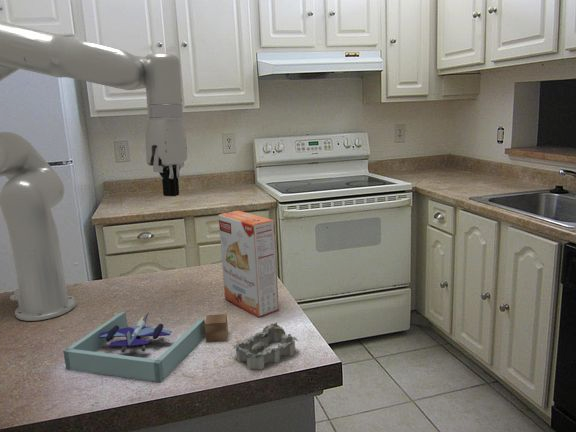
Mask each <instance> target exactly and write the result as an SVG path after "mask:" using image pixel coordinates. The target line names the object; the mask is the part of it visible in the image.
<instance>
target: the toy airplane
mask: <svg viewBox="0 0 576 432" xmlns="http://www.w3.org/2000/svg"><path fill="white" fill-rule="evenodd" d="M149 312H150V311H148V312H147V314H146V315H144V316H141V317H140V319H139V320H138V321H137V323H136V325H132V326H128V327H127V328H122V329H119V326H117V325H115V326H114V327H113V328H112V329H111V330H110V331H108V332H103V333H101V334H100V335H99V336H98V337H99V338H106V341H109V342H110V341H111V342H110V343H109V345H108V347H114V348H115V347H117V348H118V347H119V348H121V352H122V353H124V352H126V348H131V347H136V346H141V350H142V351H143V352H145V350H146V345H148V344H149V343H150V340H149V339H142V338H146V337H152V339H153V340H157V339H158V338H159V337H164V336H165V337H166V336H167V337H168V336H171V334H172V330H171V329H165V328H164V324H163V323H159V324H157V326H156V327H151V326H147V318H148V315H149ZM124 337H125V339H120V340H114V341H112V340H113V339H114V338H124Z"/></svg>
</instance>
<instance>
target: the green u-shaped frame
mask: <svg viewBox="0 0 576 432" xmlns="http://www.w3.org/2000/svg"><path fill="white" fill-rule="evenodd" d="M205 320H206V319H203V318H199V319H198V320H197V321H196V322H195V323H193V325H192V326H190V327H189V329H187V331H185V333H183V334H182V335H181V336H180V337H179V338H178V339H177V340H176V341H174V342H173V343H172V344H171V345H170V346H169V347H168V348H167V349H166V350H165V351H164V352H163V353H162V354H160V356H159V357H158V358H157V359H153V358H148V357H138V356H131V355H124V354H117V353H116V354H115V353H107V352H99V351H98V350H100V348H102V347H104V345H106V344H108V343H109V342H110V341H106V338H99V337H98V336H99V335H100V334H101V333H103V332H108V331H110V330H111V329H112V328H113V327H114V326H115V325H117V326H119V329H122V328H127V327H129V326H128V319H127V311H123V310H122V311H120V312H118V314H116V315H115V316H113V317H112V318H110V319H108V320H107V321H105V322H104V323H102V324H101V325H100V326H98V327H96V328H95V329H93V330H92V331H90V332H89V333H88V334H86V335H84V336H83V337H82V338H80V339H79V340H77V341H76V342H75V343H73V344H71V345H70V346H69V347H66V349H64V350H63V358H64V363H65V369H66V370H70V371H77V372H83V373H92V374H97V375H98V374H99V375H108V376H113V377H121V378H128V379H134V380H135V379H136V380H142V381H149V382H156V383H162V382H163V381H164V380H165V378H167V376H168V375H170V373H171V372H172V371H174V369H175V368H177V366H178V365H179V364H180V363H181V362H182V361H183V360H184V359H185V358H186V357H187V356H188V355H189V354H190V353H191V352H192V350H194V348H196V347H197V346H198V344H199V343H200V342H201V341H203V339H204V338H206V335H205Z"/></svg>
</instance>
